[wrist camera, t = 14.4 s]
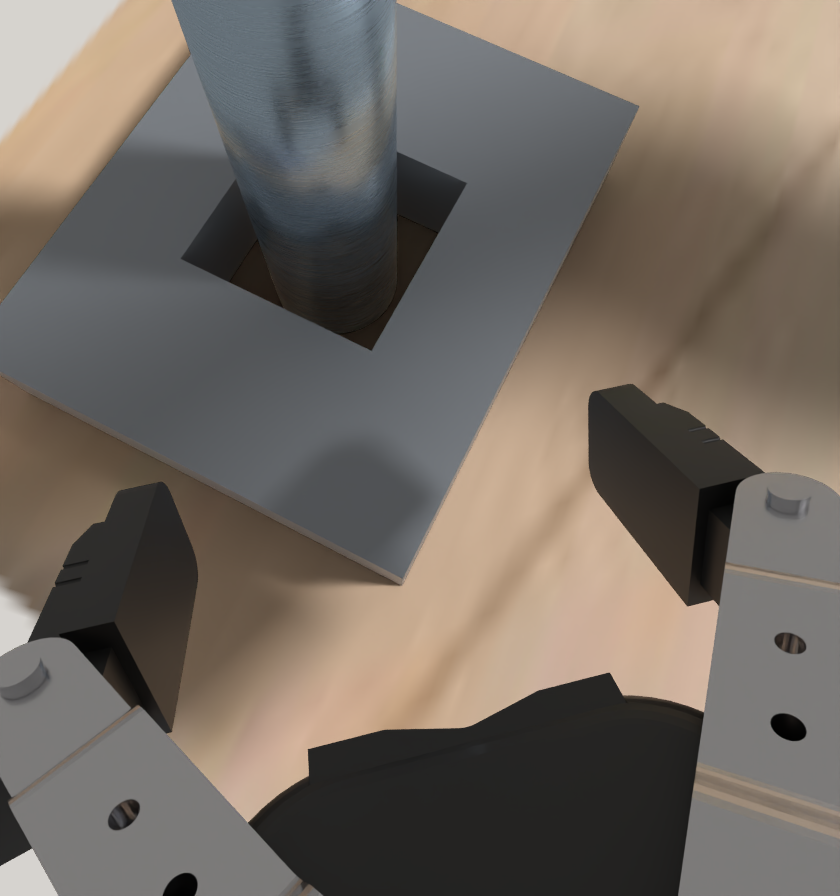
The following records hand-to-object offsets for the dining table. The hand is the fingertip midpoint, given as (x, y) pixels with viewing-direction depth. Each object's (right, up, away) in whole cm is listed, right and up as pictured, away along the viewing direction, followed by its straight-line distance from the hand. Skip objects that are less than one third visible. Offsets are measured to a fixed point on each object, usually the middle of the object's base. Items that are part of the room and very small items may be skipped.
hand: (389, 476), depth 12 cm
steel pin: (-2, +6, +9) cm, 11 cm away
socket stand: (-2, +6, +9) cm, 11 cm away
